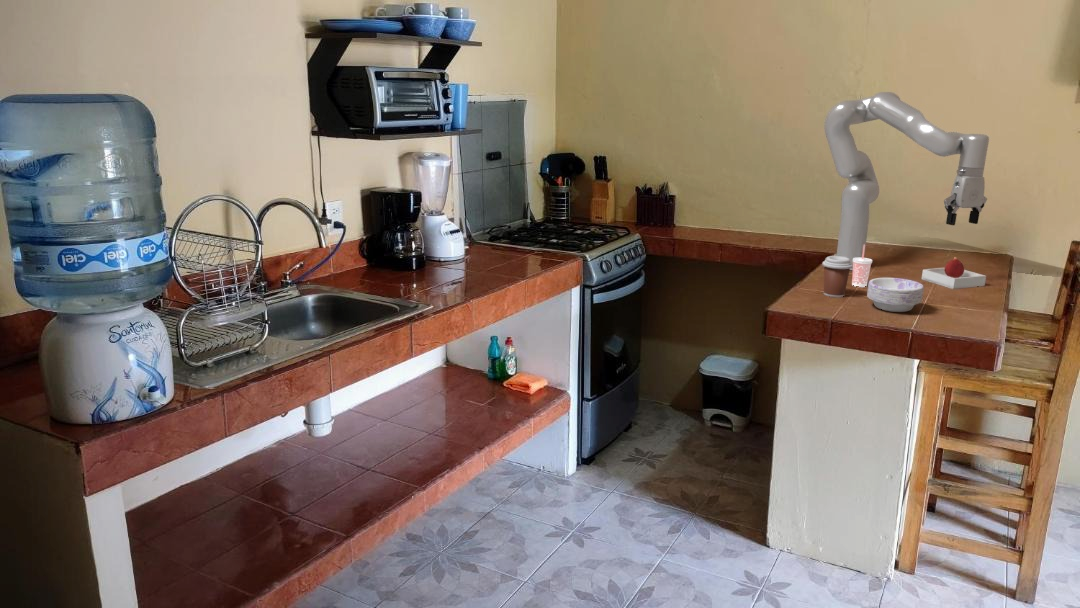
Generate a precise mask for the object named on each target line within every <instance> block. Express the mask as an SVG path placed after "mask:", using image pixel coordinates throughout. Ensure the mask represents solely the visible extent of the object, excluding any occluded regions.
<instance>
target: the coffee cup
mask: <svg viewBox="0 0 1080 608" xmlns="http://www.w3.org/2000/svg"><path fill="white" fill-rule="evenodd" d="M825 259H826V260H825ZM825 259H824V261H822V265H821V266H823V267H824V268H823V295H824V296H826V297H829V296H830V297H831V298H844V297H845V293H846V290H847V289H846V288H847V285H848V281H849V276H850V271H851V270H850V268H852V267H853V264H851V262H850V259H849V258H846V257H842V256H834V255H829V256H827V257H825ZM843 296H844V297H843Z"/></svg>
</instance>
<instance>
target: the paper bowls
mask: <svg viewBox="0 0 1080 608" xmlns="http://www.w3.org/2000/svg"><path fill="white" fill-rule="evenodd" d="M923 293H924V285H923V284H922V283H921V282H919V281H916V280H911V279H906V278H901V277H900V278H898V277H877V278H872V279H870V280H868V283H867V293H866V295H867V298H868V299H870V300H872V302H873V304H874V306H875V307H876V309H878V310H881V309H882V311H885V312H891V313H905V312H909V311H911V310H912V309H913V308H914V306H915V305H918V304H921V303H922V302H923V296H924V295H923Z"/></svg>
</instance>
